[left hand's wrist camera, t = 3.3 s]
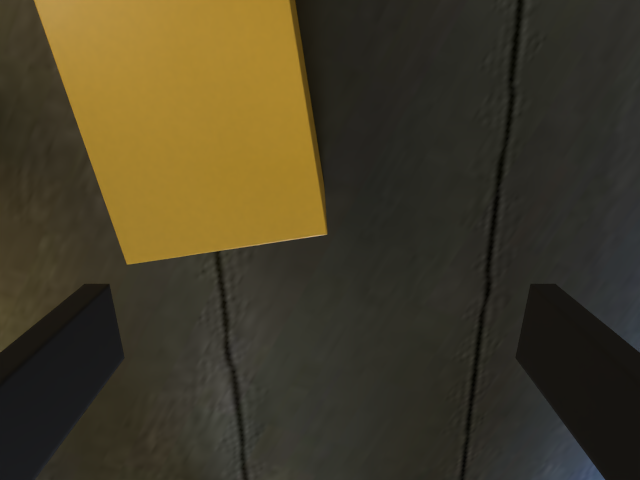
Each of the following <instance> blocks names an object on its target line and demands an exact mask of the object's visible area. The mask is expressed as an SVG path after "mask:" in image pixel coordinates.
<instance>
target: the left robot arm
mask: <svg viewBox="0 0 640 480" xmlns="http://www.w3.org/2000/svg"><path fill="white" fill-rule="evenodd" d="M123 359H124V353H123V348H122V343H121V339H120V334H119V329H118V324H117V319H116V314H115V309H114V304H113V299H112V294H111V289H110V285H109V284H84V285H83V286H82V287H80V288H79V289H78V290H77V291H76V292H74V293H73V294H72V295H71V296H69V297H68V298H67V299H66V300H64V301H63V302H62V303H61V304H60V305H58V306H57V307H56V308H55V309H53V310H52V311H51V312H50V313H49V314H47V315H46V316H45V317H44V318H42V319H41V320H40V321H39V322H37V323H36V324H35V325H34V326H33V327H31V328H30V329H29V330H28V331H26V332H25V333H24V334H23V335H21V336H20V337H19V338H18V339H17V340H15V341H14V342H13V343H12V344H10V345H9V346H8V347H7V348H6V349H4V350H3V351H2V352H1V353H0V480H35V479H36V477H37V476H38V474H39V473H40V472H41V470H42V469H43V468H44V466H45V465H46V464H47V462H48V461H49V460H50V458H51V457H52V455H53V454H54V453H55V451H56V450H57V449H58V447H59V446H60V445H61V443H62V442H63V441H64V439H65V438H66V436H67V435H68V434H69V432H70V431H71V430H72V428H73V427H74V426H75V424H76V423H77V422H78V420H79V419H80V417H81V416H82V415H83V413H84V412H85V411H86V409H87V408H88V407H89V405H90V404H91V403H92V401H93V400H94V398H95V397H96V396H97V394H98V393H99V392H100V390H101V389H102V388H103V386H104V385H105V384H106V382H107V381H108V379H109V378H110V377H111V375H112V374H113V373H114V371H115V370H116V369H117V367H118V366H119V365H120V363H121V362H122V360H123ZM516 359H517V360H518V362H519V363H520V365H521V366H522V367H523V369H524V370H525V371H526V373H527V374H528V375H529V377H530V378H531V379H532V381H533V382H534V384H535V385H536V386H537V388H538V389H539V390H540V392H541V393H542V394H543V396H544V397H545V398H546V400H547V401H548V403H549V404H550V405H551V407H552V408H553V409H554V411H555V412H556V413H557V415H558V416H559V417H560V419H561V420H562V422H563V423H564V424H565V426H566V427H567V428H568V430H569V431H570V432H571V434H572V435H573V436H574V438H575V439H576V441H577V442H578V443H579V445H580V446H581V447H582V449H583V450H584V451H585V453H586V454H587V455H588V457H589V458H590V460H591V461H592V462H593V464H594V465H595V466H596V468H597V469H598V470H599V472H600V473H601V474H602V476H603V477H604V479H605V480H640V353H639V352H638V351H637V350H636V349H634V348H633V347H632V346H631V345H630V344H628V343H627V342H626V341H625V340H623V339H622V338H621V337H620V336H619V335H617V334H616V333H615V332H614V331H612V330H611V329H610V328H609V327H607V326H606V325H605V324H604V323H603V322H601V321H600V320H599V319H598V318H596V317H595V316H594V315H593V314H591V313H590V312H589V311H588V310H587V309H585V308H584V307H583V306H582V305H580V304H579V303H578V302H577V301H576V300H574V299H573V298H572V297H571V296H569V295H568V294H567V293H566V292H564V291H563V290H562V289H561V288H560V287H558V286H557V285H556V284H531V285H530V289H529V294H528V299H527V304H526V309H525V314H524V319H523V324H522V329H521V334H520V339H519V343H518V348H517V353H516Z"/></svg>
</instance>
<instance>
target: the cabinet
mask: <svg viewBox="0 0 640 480" xmlns="http://www.w3.org/2000/svg"><path fill="white" fill-rule="evenodd" d="M34 2H35V5H36V7H37V10H38V13H39V16H40V19H41V22H42V24H43V27H44V30H45V33H46V36H47V39H48V42H49V44H50V47H51V50H52V53H53V56H54V59H55V61H56V64H57V67H58V70H59V73H60V76H61V78H62V81H63V84H64V87H65V90H66V93H67V96H68V98H69V101H70V104H71V107H72V110H73V113H74V115H75V118H76V121H77V124H78V127H79V130H80V132H81V135H82V138H83V141H84V144H85V147H86V150H87V152H88V155H89V158H90V161H91V164H92V167H93V169H94V172H95V175H96V178H97V181H98V184H99V186H100V189H101V192H102V195H103V198H104V201H105V203H106V206H107V209H108V212H109V215H110V218H111V221H112V223H113V226H114V229H115V232H116V235H117V238H118V240H119V243H120V246H121V249H122V252H123V255H124V257H125V260H126V263H127V264H134V263H141V262H148V261H154V260H161V259H168V258H174V257H181V256H188V255H194V254H201V253H208V252H214V251H221V250H228V249H234V248H241V247H248V246H254V245H261V244H268V243H274V242H281V241H288V240H294V239H301V238H307V237H314V236H321V235H327V220H326V204H325V189H324V182H323V175H322V169H321V163H320V156H319V150H318V143H317V137H316V131H315V124H314V118H313V112H312V105H311V99H310V92H309V86H308V80H307V73H306V67H305V61H304V54H303V48H302V41H301V35H300V29H299V22H298V16H297V10H296V3H295V0H34Z"/></svg>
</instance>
